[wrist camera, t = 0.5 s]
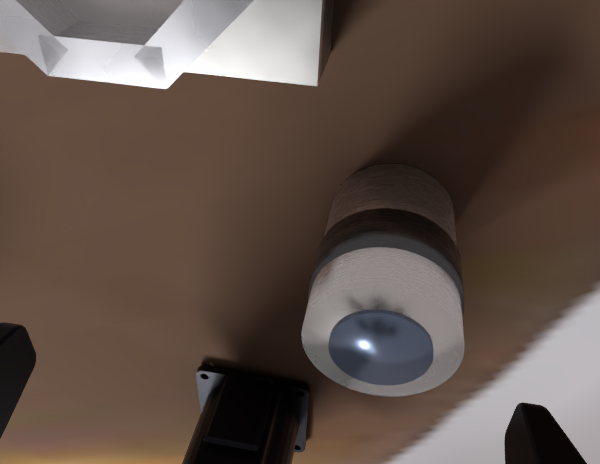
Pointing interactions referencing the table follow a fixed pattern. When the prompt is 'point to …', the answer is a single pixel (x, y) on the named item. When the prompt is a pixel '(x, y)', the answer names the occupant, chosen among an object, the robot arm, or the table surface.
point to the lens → (387, 285)
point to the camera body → (171, 38)
